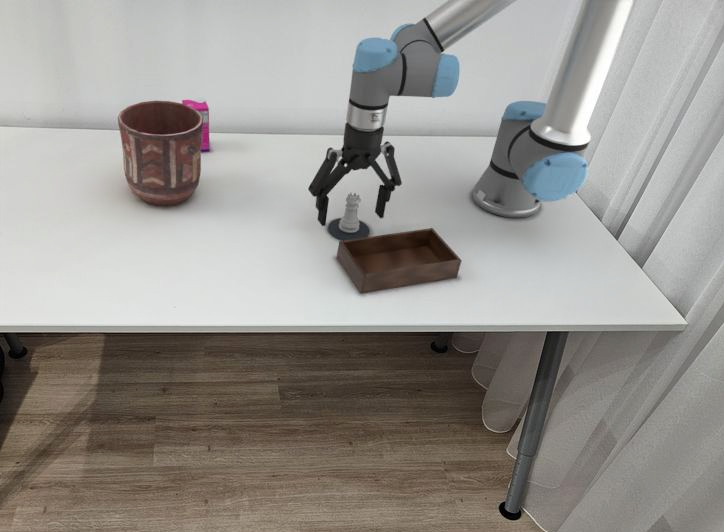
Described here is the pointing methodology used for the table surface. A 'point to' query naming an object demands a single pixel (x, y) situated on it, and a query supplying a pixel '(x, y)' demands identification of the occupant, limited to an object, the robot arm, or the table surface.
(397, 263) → the tray
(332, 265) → the table surface
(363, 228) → the coaster
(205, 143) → the supplement box
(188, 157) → the pottery
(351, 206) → the rook chess piece
